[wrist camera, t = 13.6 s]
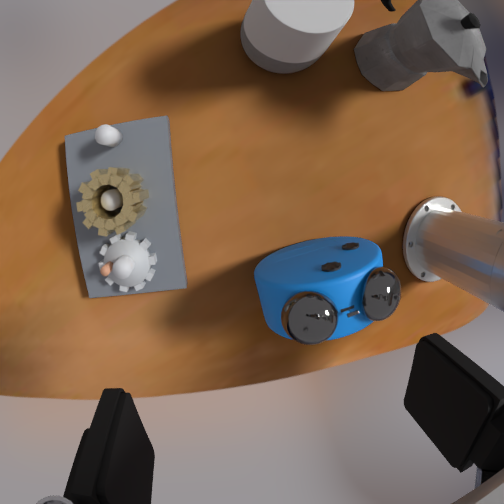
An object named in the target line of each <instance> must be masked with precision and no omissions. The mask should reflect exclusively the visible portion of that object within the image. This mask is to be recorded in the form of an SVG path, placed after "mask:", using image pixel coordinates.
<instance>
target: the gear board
mask: <svg viewBox="0 0 504 504" xmlns="http://www.w3.org/2000/svg"><path fill="white" fill-rule="evenodd" d="M65 148H66V162H67V173H68V183H69V191H70V199H71V207H72V214H73V220H74V226H75V232H76V238H77V243H78V249H79V254H80V259H81V263H82V268H83V272H84V277H85V281H86V285H87V289H88V293H89V297H90V298H96V297H106V296H117V295H127V294H137V293H146V292H156V291H165V290H174V289H183V288H187V276H186V270H185V263H184V256H183V249H182V241H181V234H180V226H179V218H178V209H177V201H176V192H175V182H174V172H173V161H172V150H171V138H170V124H169V118H168V116H161V117H154V118H148V119H142V120H136V121H130V122H125V123H119V124H114V125H101V126H100V127H99V128H95V129H91V130H86V131H82V132H78V133H74V134H70V135H66V136H65ZM109 167H122V168H128V169H130V171H129V174H139V175H140V176H141V177H142V178H143V179H144V180H143V181H142V182H141V183H140V185H141V186H142V187H141V188H140V189H143V190H146V189H148V191H149V198H147V199H145V200H143V201H144V202H143V206H145V207H147V209H146V211H145V213H144V215H143V216H142V217H140V218H139V219H138V220H136V223H135V224H134V225H132V226H131V227H130V228H128V229H127V230H126V231H124V232H122V233H120V234H118V235H117V233H116V231H114V232H112V233H111V234H109V235H108V236H107V237H106V236H101V235H98V230H99V228H97V227H95V226H93V227H92V228H90V229H88V228H87V227H86V226H85V225H84V224H83V223H82V222H83V221H84V220H85V219H86V217H85V215H84V214H85V213H86V212H84V213H83V211H80V212H78V211H77V204H76V203H77V202H80V201H82V200H83V198H82V196H83V193H81V192H79V191H78V190H79V188H80V185H81V183H82V182H89V181H91V180H92V178H91V176H90V173H92V172H93V171H95V170H97V169H108V168H109ZM101 204H102V206H103V207H104V208H105V209H106V210H110V211H111V210H114V211H116V212H118V213H120V212H121V209H122V207H123V197H122V194H121V193H120V191H119V190H118V188H117V187H114V186H112V187H110V188H109V190H107V191H106V192H104V193H103V195H102V197H101Z"/></svg>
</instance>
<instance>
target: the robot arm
mask: <svg viewBox="0 0 504 504" xmlns="http://www.w3.org/2000/svg"><path fill="white" fill-rule="evenodd" d="M403 255H404V259H405V262H406V265H407V267H408V269H409V270H410V271H411V273H412V274H413V275H414V276H416V277H417V278H419V279H421V280H423V281H427V282H433V281H438V280H440V279H444V280H446V281H448V282H450V283H452V284H454V285H455V286H457V287H459V288H461V289H463V290H465V291H467V292H469V293H470V294H472V295H474V296H476V297H478V298H480V299H481V300H483V301H485V302H487V303H489V304H490V305H492V306H494V307H496V308H498V309H500V310H501V311H503V312H504V223H502V222H499V221H495V220H491V219H487V218H483V217H480V216H476V215H471V214H467V213H463V212H461V210H460V208H459V207H458V206H457V204H456V203H455V202H453V201H452V200H451V199H448V198H446V197H440V196H436V197H431V198H428V199H426V200H424V201H423V202H421V203H420V204H419V205H418V206H417V207H416V209H415V210H414V211H413V213H412V214H411V216H410V218H409V220H408V222H407V225H406V228H405V232H404V237H403ZM404 406H405V408H406V410H407V411H408V412H409V413H410V414H411V416H412V417H413V418H414V420H415V421H416V422H417V423H418V425H419V426H420V427H421V428H422V429H423V431H424V432H425V433H426V434H427V436H428V437H429V438H430V439H431V441H432V442H433V443H434V444H435V446H436V447H437V448H438V449H439V451H440V452H441V453H442V455H443V456H444V457H445V458H446V460H447V461H448V462H449V463H450V465H451V466H452V467H454V468H457V469H458V470H459V471H460V472H463V471H464V470H466V469H468V468H469V467H471V466H472V465H473V463H475V465H476V466H477V470H476V480H475V489H474V490H473V491H471V492H469V493H468V494H466V495H465V496H463V497H462V498H460V499H458V500H457V501H455V502H454V503H452V504H504V386H503V385H501V384H500V383H499V382H498V381H497V380H496V379H494V378H493V377H492V376H491V375H489V374H488V373H487V372H486V371H484V370H483V369H482V368H481V367H480V366H478V365H477V364H476V363H475V362H473V361H472V360H471V359H470V358H468V357H467V356H466V355H464V354H463V353H462V352H461V351H459V350H458V349H457V348H456V347H454V346H453V345H452V344H450V343H449V342H447V341H446V340H445V339H444V338H443V337H441V336H440V335H439V334H437V333H433V334H430V335H427V336H424V337H422V338H421V339H420V340H419V343H417V345H416V349H415V354H414V359H413V364H412V369H411V373H410V377H409V382H408V386H407V390H406V394H405V398H404ZM154 458H155V455H154V450H153V447H152V444H151V442H150V440H149V438H148V435H147V433H146V431H145V429H144V427H143V424H142V422H141V419H140V417H139V415H138V412H137V409H136V407H135V405H134V402H133V399H132V397H131V394H130V393H125V391H124V390H123V389H122V388H110V389H104V390H103V393H102V395H101V398H100V401H99V403H98V406H97V409H96V412H95V415H94V418H93V420H92V423H91V426H90V428H89V429H86V430H85V431H84V433H83V436H82V439H81V441H80V445H79V448H78V450H77V453H76V456H75V459H74V463H73V466H72V469H71V472H70V476H69V479H68V482H67V486H66V489H65V492H64V496H63V497H61V496H48V497H45V498H43V499H41V500H40V501H38V502H37V503H36V504H151V495H152V482H153V469H154Z"/></svg>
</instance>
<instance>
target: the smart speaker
mask: <svg viewBox="0 0 504 504" xmlns="http://www.w3.org/2000/svg"><path fill="white" fill-rule="evenodd" d="M353 9H354V0H253V1H252V2H251V4H250V6H249V8H248V10H247V12H246V14H245V16H244V19H243V22H242V26H241V32H240V35H241V42H242V46H243V49H244V51H245V52H246V54H247V56H248V57H249V58H250V59H251V60H252V61H253V62H254V63H255V64H256V65H258V66H259V67H261V68H263V69H265V70H268V71H271V72H275V73H294V72H298V71H301V70H303V69H305V68H307V67H309V66H311V65H312V64H313V63H315V62H316V61H317V60H318V59H319V58H320V57H321V56H322V55H323V53H324V52H325V51H326V50H327V48H328V47H329V46H330V44H331V43H332V42H333V40H334V39H335V38H336V36H337V35H338V33H339V32H340V31H341V29H342V28H343V27H344V25H345V24H346V23H347V21H348V20H349V18H350V17H351V15H352V12H353Z"/></svg>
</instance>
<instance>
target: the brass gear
mask: <svg viewBox="0 0 504 504" xmlns="http://www.w3.org/2000/svg"><path fill="white" fill-rule="evenodd" d="M129 171H130V169H128V168H122V167H109V168H108V169H97V170H95V171H93V172H92V173H90V176H91V178H92V180H91V181H89V182H82V183H81V185H80V188H79V190H78V191H79V192H81V193H83V196H82V198H83V200H82V201H80V202H77V203H76V204H77V211H78V212H80V211H83V213H84V212H86V213H85V214H84V215H85V217H86V219H85V220H84V221H83V222H82V223H83V224H84V225H85V226H86V227H87V228H88V229H90V228H92V227H93V226H95V227H97V228H99V230H98V235H101V236H106V237H107V236H108V235H109V234H111V233H112V232H114V231H116V233H117V235H118V234H120V233H122V232H124V231H126V230H127V229H128V228H130V227H131V226H132V225H134V224H135V223H136V220H138V219H139V218H140V217H142V216H143V215H144V213H145V211H146V209H147V207H145V206H143V202H144V201H143V200H145V199H147V198H149V191H148V189H146V190H143V189H140V188H141V187H142V186H141V185H140V183H141V182H142V181H143V180H144V179H143V178H142V177H141V176H140V175H139V174H129ZM112 186H114V187H117V188H118V190H119V191H120V193H121V194H122V197H123V207H122V209H121V212H120V213H118V212H116V211H114V210H111V211H110V210H106V209H105V208H104V207H103V206H102V204H101V197H102V195H103V193H104V192H106V191H107V190H109V188H110V187H112Z"/></svg>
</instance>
